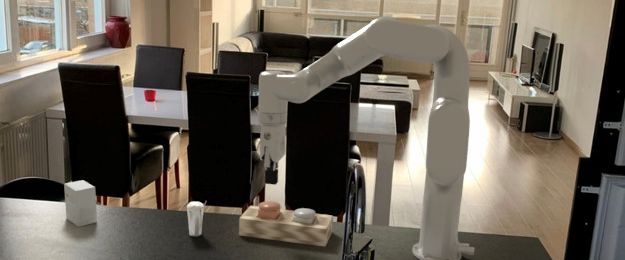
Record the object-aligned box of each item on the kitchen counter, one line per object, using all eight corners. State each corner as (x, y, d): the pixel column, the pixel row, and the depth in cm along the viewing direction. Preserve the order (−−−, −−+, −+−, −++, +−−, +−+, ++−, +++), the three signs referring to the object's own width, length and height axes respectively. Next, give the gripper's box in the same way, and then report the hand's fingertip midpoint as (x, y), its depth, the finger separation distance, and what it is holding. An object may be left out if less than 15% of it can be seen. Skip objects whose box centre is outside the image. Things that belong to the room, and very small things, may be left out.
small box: (97, 222, 171) (95, 187, 169) (77, 227, 167) (75, 190, 165) (85, 214, 177) (83, 179, 174) (65, 218, 173) (63, 183, 171)
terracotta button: (281, 222, 173) (282, 202, 171) (276, 229, 167) (277, 209, 166) (261, 219, 174) (262, 200, 172) (255, 227, 168) (256, 207, 167)
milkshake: (203, 238, 164) (203, 203, 162) (184, 236, 165) (184, 201, 163) (209, 232, 168) (209, 198, 166) (190, 230, 169) (190, 195, 167)
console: (331, 232, 172) (332, 215, 171) (325, 246, 163) (326, 229, 162) (250, 221, 177) (250, 205, 176) (239, 235, 167) (239, 218, 166)
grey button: (316, 229, 171) (317, 209, 170) (312, 237, 165) (313, 217, 164) (296, 226, 172) (297, 207, 171) (291, 234, 166) (292, 214, 165)
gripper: (278, 124, 155) (277, 193, 160) (292, 113, 170) (291, 176, 174) (250, 122, 157) (249, 190, 161) (266, 111, 171) (265, 174, 175)
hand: (271, 183), depth 167 cm, fingers closed
